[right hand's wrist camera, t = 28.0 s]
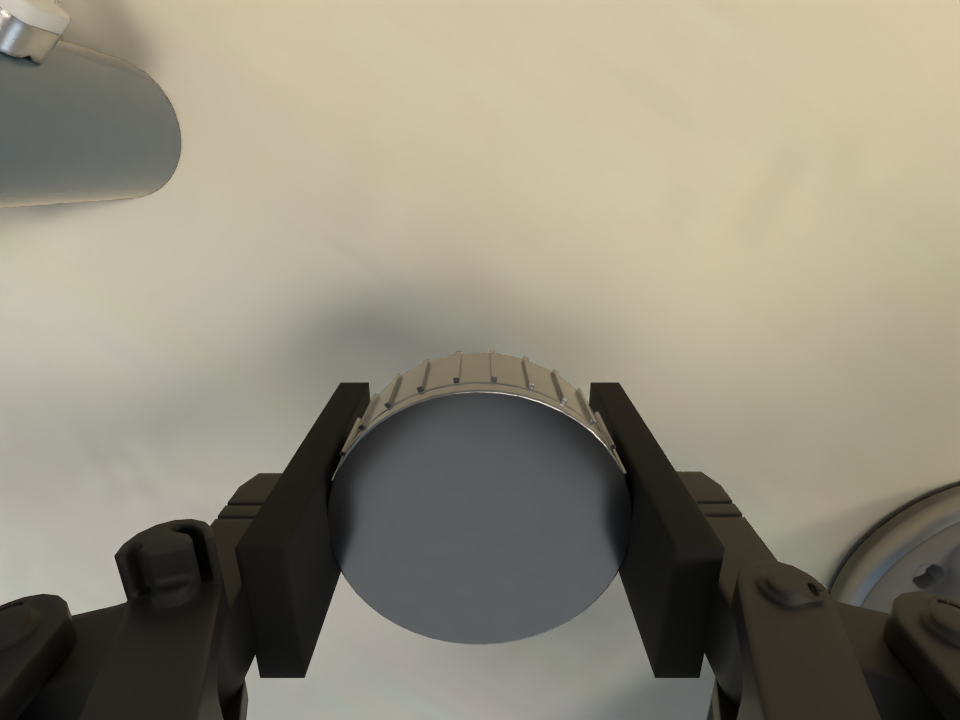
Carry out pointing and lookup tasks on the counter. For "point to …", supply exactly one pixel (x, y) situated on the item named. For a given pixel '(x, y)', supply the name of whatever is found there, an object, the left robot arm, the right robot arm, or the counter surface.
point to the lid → (479, 501)
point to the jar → (82, 129)
